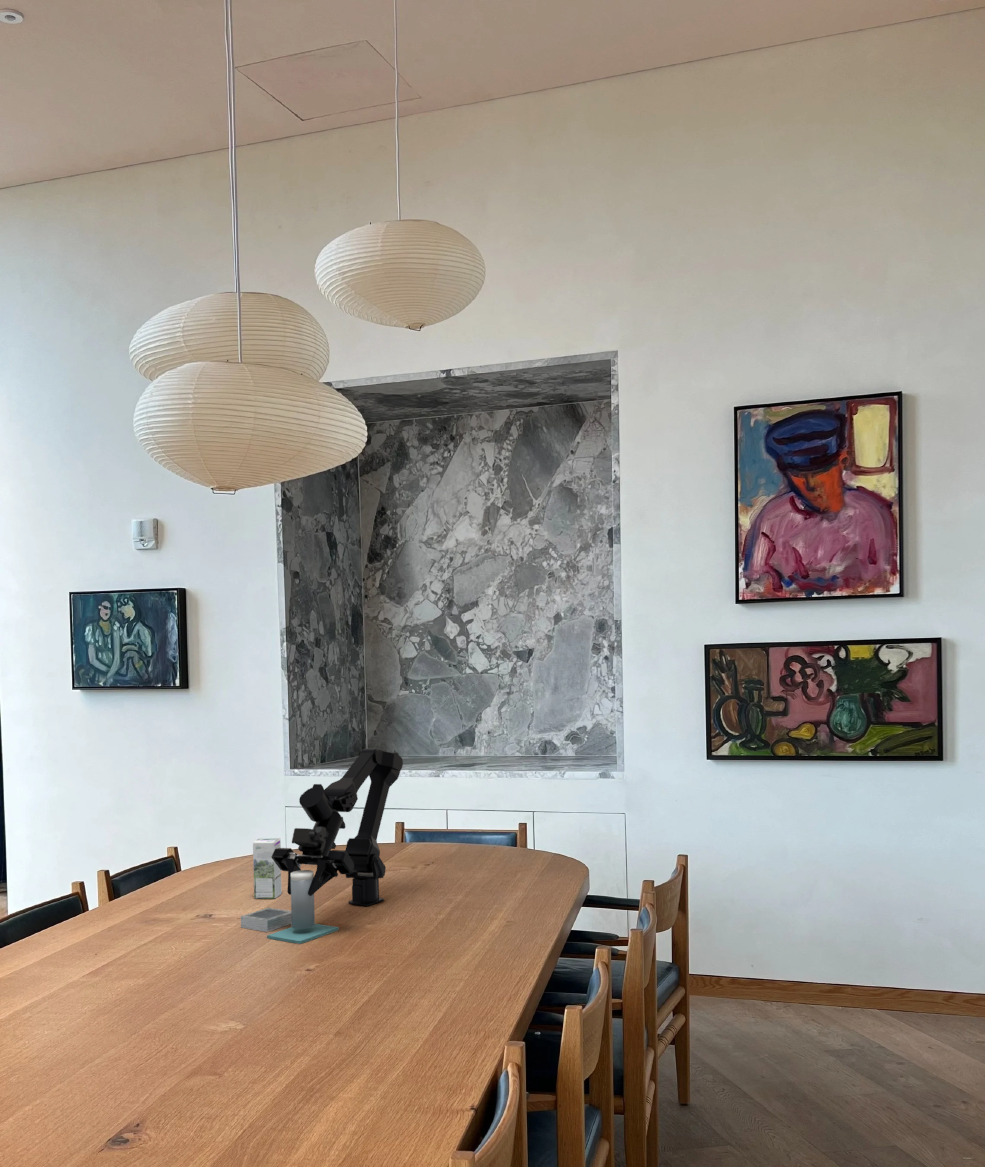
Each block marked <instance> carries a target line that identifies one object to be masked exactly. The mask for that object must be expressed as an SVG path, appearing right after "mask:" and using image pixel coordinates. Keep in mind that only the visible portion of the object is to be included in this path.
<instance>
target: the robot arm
mask: <svg viewBox="0 0 985 1167" xmlns="http://www.w3.org/2000/svg"><path fill="white" fill-rule="evenodd" d="M403 760H404V759H403V758H402V756H401V755H400V754H399V753H398V752H394V751H391V752H389V751H384V750H381V749H379V748H363V749H360V751H359V753H358V756H357V757H356V759H355V760H354V762H352V764H351V766H350V767H349V768H348V769H347V770H346V772H345V773H344V775H343V776H342V777H341V778H340V779H339V780H336V781H334V782H332V783H330V784H329V785H328V786H327V787H325V788H324V786H323V785H322V784H321V783H315V784H312V787H310V788H307V790H305V791H304V792H303V793H302V794H300V797H299V801H298V802H299V805H300V807H301V808H302V809H303V810H304V812H305V814H306V815H307V817H308V818H309V820H310V821H312V822H314V826H313V828H302V827H301V828H300V827H298V828H297V827H295V828H294V829H293V834H292V837H291V838H292V839H291V844H295V845H298V848H297V849H298V851H299V852H301V854H298V853H296V852H294V851H293V849H292V848H291V847H281V848H277V849H275V850H274V852H273V854H272V856H271V858H272V859H273V860H274V862H275V863H276V864H277V866H278V867H279V868H280V870H281V872H287V890H286V891H287V894H288V895H290V896H291V874H290V873H291V872H294V871H299V870H302V869H301V866H302V865H305V866H306V865H308V866H316V871H315V872H314V873H315V874H314V878H313V880H312V882H311V885H310V888H309V891H308V894H309V896H312V895H313V894H314V895H315V893H316V892H318V890H319V889H321V888H322V887H323V886H324V885H326V884H327V883H328V882H330V881H331V880H332V879H333V878H337V877H338V876H339V874H340V875H345V878H346V879H351V880H352V885H351V895H352V896H351V897H352V898H351V900H349V901H348V904H349V905H356V906H363V907H364V906H365V907H369V906H373V905H375V904H378V903H380V902H383V901H385V898H382V897H380V883H379V879H384V877H385V876H386V866H385V863H384V862H383V860H382V859H381V858H380V855H381V850H380V847H379V844H378V841H377V840H378V834H379V831H380V827H381V824H382V823H381V822H382V819H383V815H384V811H385V806H386V802H387V799H388V794H389V792H390V787H392V785H393V784H394V783H396V781H397V780H398V779H399V776H400V774H401V771H402V770H403V766H404V764H403V762H404V761H403ZM368 777H369V779H370V786H369V789H368V792H367V793H368V794H367V796H366V800H365V803H364V804H365V805H364V808H363V813H362V816H361V819H360V823H359V828H358V832H357V834H356V836H355V837H349V838H348V840H347V841H346V847H345V849H343V850H340V849H336V847H337V844H336V843H335V841H336V838H337V836H338V833H339V832H340V830H341V829H342V830H343V829H346V822H345V821H344V817H343V816H342V815H341V814H340V813H350V812H352V810H353V808H354V807H355V806H356V803H357V801H358V799H359V798H358V792H359V790H360V788H362V785H363V784H364V783H365V781H366V780H367V778H368Z"/></svg>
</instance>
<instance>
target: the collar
mask: <svg viewBox="0 0 985 1167" xmlns="http://www.w3.org/2000/svg"><path fill="white" fill-rule="evenodd" d="M290 925H292V916H291V910H288V909H281V908H280V909H279V908H274V907H273V908H272V907H267V908H262V909H260V910H256V911H253V912H250V913H247V914H243V915H241V916H240V928H242V929H247V930H248V929H249V930H254V931H258V932H266V933H268V932H272V931H275V930H278V929H281V928H283V927H286V926H290Z"/></svg>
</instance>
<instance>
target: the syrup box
mask: <svg viewBox="0 0 985 1167" xmlns="http://www.w3.org/2000/svg"><path fill="white" fill-rule="evenodd" d="M277 848H282V846H281V838H280V837H278V838H277V837H275V838H273V837H269V838H263V837H262V838H257V839H255V840H254V841H253V842H252V855H253V856H252V857H253V859H252V862H253V867H252V868H253V898H254V899H255V900H257V899H259V900H263V899H264V900H265V899H268V900H269V899H277V898H278V897H280V896H281V895H282V893H283V891H282V890H283V888H282V886H283V885H282V870H280V868H279V867H278V866H277V864H276V863H275V862H274V860H273V859H272V858H271V856H272V854H273V852H274V850H275V849H277Z"/></svg>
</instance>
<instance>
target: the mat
mask: <svg viewBox="0 0 985 1167" xmlns="http://www.w3.org/2000/svg"><path fill="white" fill-rule="evenodd" d="M339 930H340V927H338V926H332V925H325V924H320V923H315V925H314V926H313V927H310V928H305V929H295V928H292V926H291V927H288V928H287V927H286V928H285V929H282V930H279V931H275V932H273V933H271V934H268V935H266V939H270V940H273V941H274V940H275V941H280V942H286V943H291V944H292V943H293V944H299V945H302V944H304V943H307V942H310V941H313V940H316V939H318V938H321V937H323V936H326V935H329V934H331V933H335V932H338V931H339Z"/></svg>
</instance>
